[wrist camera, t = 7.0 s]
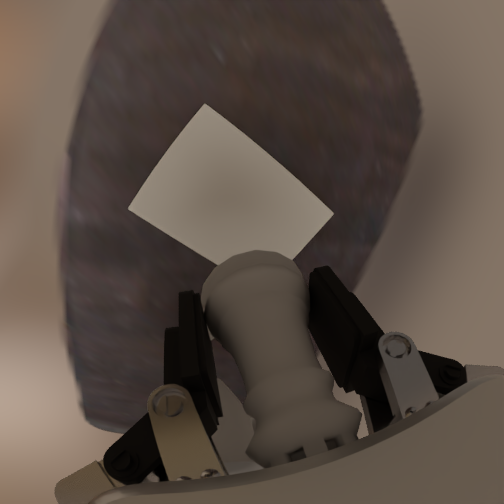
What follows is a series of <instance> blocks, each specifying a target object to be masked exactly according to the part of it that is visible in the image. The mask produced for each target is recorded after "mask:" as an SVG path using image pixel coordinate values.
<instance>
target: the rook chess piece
mask: <svg viewBox="0 0 504 504" xmlns="http://www.w3.org/2000/svg"><path fill="white" fill-rule="evenodd" d="M201 303H202V307H203V311H204V317H205V321H206V324H207V326H208V329H209V331H210V333H211V335H212V336H213V337H214V338H215V339H216V340H217V341H219V342H220V343H221V344H222V347H223V348H225V349H226V350H227V351H228V352H229V353H231V354H232V356H233V357H234V359H235V362H236V364H237V366H238V369H239V371H240V373H241V376H242V378H243V381H244V384H245V388H246V392H247V396H246V399H245V401H244V404H243V408H244V410H245V412H246V414H247V415H249V416H251V417H252V418H254V419H255V421H256V432H255V434H254V436H253V437H252V439H251V441H250V443H249V445H248V447H247V449H246V451H245V453H246V454H247V456H248V457H249V458H250V459H251V460H252V461H254V462H255V463H257V464H258V465H260V466H261V467H263V468H264V469H265V468H269V467H274V466H278V465H282V464H286V463H290V462H294V461H297V460H301V459H304V458H308V457H311V456H314V455H317V454H320V453H323V452H326V451H329V450H332V449H335V448H338V447H341V446H343V445H346V444H349V443H351V442H354V441H356V440H359V439H358V437H357V432H358V429H359V425H360V421H361V417H362V413H361V412H360V411H359V410H358V409H357V408H354V407H352V406H349V405H347V404H345V403H342V402H339V401H337V400H336V399H335V397H334V396H333V392H332V389H333V386H334V377H333V376H332V375H331V373H330V372H329V371H326V370H323V369H322V368H321V366H320V364H319V361H318V359H317V357H316V355H315V351H314V348H313V345H312V341H311V338H310V335H309V332H308V328H307V327H308V325H309V312H310V293H309V288H308V286H307V284H306V283H305V281H304V280H303V275H302V273H301V272H300V270H299V269H298V267H297V266H296V264H295V263H294V261H292V260H291V259H289V258H287V257H285V256H283V255H282V254H280V253H278V252H273V251H263V250H253V251H249V252H245V253H241V254H237V255H233V256H232V257H230V258H229V259H227V260H226V261H224V262H223V263H221V264H220V265H218V266H217V267H215V268H214V269H213V271H212V272H211V274H210V275H209V277H208V278H207V279H206V281H205V282H204V284H203V288H202V294H201Z"/></svg>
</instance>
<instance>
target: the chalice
mask: <svg viewBox="0 0 504 504" xmlns="http://www.w3.org/2000/svg"><path fill="white" fill-rule="evenodd" d="M207 328H208V326H207ZM208 332H209V336H210V340H213V339H214V337H213V336H212V335H211V333H210V331H209V329H208ZM212 350H213V349H212ZM217 382H218V388H219V394H220V400H221V406H222V412H223V417H219V418H218V420H219V425H217V429H218V430H217V431H216V432H215V433H214V434H213V435H212V436H211V437H212V439H213V441H214V443H215V446H216V448H217V450H218V452H219V454H220V456H221V458H222V460H223V463H224V465H225V467H226V469H227V471H228V473H229V475H232V474H239V473H245V472H250V471H255V470H260V469H264V468H263V467H261V466H260V465H258V464H257V463H255V462H254V461H252V460H251V459H250V458H249V457H248V456H247V454H246V453H245V451H246V449H247V447H248V445H249V443H250V441H251V439H252V437H253V436H254V430H253V426H252V423H251V419H250V416H249V415H247V414H246V412H245V410H244V408H243V405H242V404H241V402H240V401H239V399H238V398H237V397H236V396H235V395H234V394H233V393H232V391H231V390H230V389H229V388H228V387H227V386H226V385H225V384H224V382H223V381H222V380H220V379H219V378H217Z"/></svg>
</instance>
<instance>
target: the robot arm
mask: <svg viewBox="0 0 504 504" xmlns="http://www.w3.org/2000/svg"><path fill="white" fill-rule="evenodd" d="M309 293H310V312H309V325H308V328H309V330H310V332H311V334H312V336H313V338H314V340H315V342H316V344H317V346H318V348H319V350H320V352H321V354H322V355H323V357H324V359H325V361H326V363H327V365H328V367H329V369H330V371H331V373H332V375H333V377H334V379H335V381H336V383H337V385H338V386H339V387H340V388H341V387H343V388H344V390H345V392H346V393H348V392H351V391H354V390H355V392H356V394H359V395H360V399H361V403H362V407H363V411H364V415H365V420H366V424H367V428H368V433H369V435H368V436H366V437H363V438H361V439H359V440H356V441H354V442H351V443H349V444H346V445H343V446H341V447H338V448H335V449H332V450H329V451H326V452H323V453H320V454H317V455H314V456H311V457H308V458H304V459H301V460H297V461H294V462H290V463H286V464H282V465H278V466H274V467H269V468H265V469H260V470H255V471H250V472H245V473H239V474H232V475H229V473H228V471H227V469H226V467H225V465H224V463H223V460H222V458H221V456H220V454H219V452H218V450H217V448H216V446H215V443H214V441H213V439H212V437H211V436H212V435H213V434H214V433H215V432H216V431H217V430H218V429H217V425H219V420H218V418H219V417H223V412H222V406H221V400H220V394H219V388H218V382H217V376H216V370H215V363H214V357H213V350H212V344H211V340H210V336H209V332H208V328H207V324H206V321H205V317H204V311H203V307H202V303H201V299H200V295H199V293H196V294H194V292H193V290H191V291H185V292H179V327H172V328H166V329H165V341H164V385H163V386H161V387H158V388H157V389H155V390H154V391H153V392H152V393H151V395H150V396H149V398H148V402H147V408H148V413H147V414H146V415H145V416H143V417H142V418H141V419H140V420H139V421H138V422H137V423H136V424H135V425H134V426H133V427H132V428H130V429H129V430H128V431H127V432H126V433H125V434H124V435H123V436H122V437H121V438H120V439H119V440H117V441H116V442H115V443H114V444H113V445H112V446H111V447H109V449H108V450H107V451H106V453H105V455H104V458H103V460H101V461H99V462H97V461H94V462H92V463H91V464H89V465H87V466H85V467H84V468H82V469H80V470H78V471H77V472H75V473H73V474H71V475H69V476H68V477H66V478H64V479H62V480H60V481H59V482H58V483H57V484H56V487H55V497H56V499H57V501H58V503H59V504H504V369H503V368H501V367H498V366H480V365H465V366H464V367H463V366H462V365H461V364H460V363H459V362H458V361H455V360H453V359H449V358H445V357H441V356H437V355H434V354H430V353H426V352H422V351H418V350H417V348H416V346H415V344H414V342H413V341H412V339H411V338H410V337H408V336H407V335H405V334H403V333H400V332H389V333H386V334H384V332H383V331H382V330H381V328H380V327H379V326H378V325H377V323H376V322H375V320H374V319H373V318H372V316H371V315H370V314H369V313H368V311H367V310H366V309H365V307H364V306H363V305H362V303H361V302H360V301H359V300H358V298H357V297H356V296H355V295H354V294H353V293H351V292H349V291H348V290H347V288H346V287H345V286H344V285H343V283H342V282H341V281H340V280H339V278H338V277H337V276H336V275H335V273H334V272H333V271H332V270H331V268H330V267H329V266H323V267H318V268H315V269H314V271H313V272H311V273H310V279H309ZM250 419H251V423H252V426H253V430H254V434H255V432H256V421H255V419H254V418H252V417H251V416H250Z"/></svg>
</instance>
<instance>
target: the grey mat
mask: <svg viewBox="0 0 504 504" xmlns="http://www.w3.org/2000/svg"><path fill="white" fill-rule="evenodd" d="M128 209H129V210H130V211H132V212H133V213H135V214H136V215H138V216H140V217H141V218H143V219H144V220H146V221H147V222H149V223H151V224H152V225H154V226H155V227H157V228H158V229H160V230H162V231H163V232H165V233H166V234H168V235H170V236H171V237H173V238H174V239H176V240H178V241H179V242H181V243H182V244H184V245H186V246H187V247H189V248H190V249H192V250H194V251H195V252H197V253H199V254H200V255H202V256H204V257H205V258H207V259H208V260H210V261H212V262H213V263H215V264H217V265H220V264H221V263H223V262H224V261H226V260H227V259H229V258H230V257H232V256H233V255H237V254H241V253H245V252H249V251H253V250H263V251H273V252H278V253H280V254H282V255H283V256H285V257H287V258H289V259H291V260H293V259H294V258H295V256H296V255H297V254H298V253H299V252H300V251H301V250H302V249H303V248H304V247H305V246H306V244H307V243H308V242H309V241H310V240H311V239H312V238H313V237H314V236H315V235H316V233H317V232H318V231H319V230H320V229H321V228H322V227H323V226H324V225H325V223H326V222H327V221H328V220H329V219H330V218H331V217H332V216H333V214H334V213H333V212H332V211H331V210H330V209H329V208H328V207H327V206H326V205H325V204H324V203H322V202H321V201H320V200H319V199H318V198H317V197H316V196H315V195H314V194H313V193H312V192H311V191H310V190H309V189H308V188H306V187H305V186H304V185H303V184H302V183H301V182H300V181H299V180H298V179H297V178H295V177H294V176H293V175H292V174H291V173H290V172H289V171H288V170H286V169H285V168H284V167H283V166H282V165H281V164H280V163H278V162H277V161H276V160H275V159H274V158H273V157H271V156H270V155H269V154H268V153H267V152H266V151H264V150H263V149H262V148H261V147H260V146H258V145H257V144H256V143H255V142H254V141H252V140H251V139H250V138H249V137H247V136H246V135H245V134H244V133H243V132H241V131H240V130H239V129H238V128H236V127H235V126H234V125H232V124H231V123H230V122H229V121H227V120H226V119H225V118H223V117H222V116H221V115H220V114H218V113H217V112H216V111H214V110H213V109H212V108H210V107H209V106H208V105H206V104H204V105H203V106H202V107H201V108H200V109H199V111H198V112H197V113H196V114H195V116H194V117H193V118H192V119H191V120H190V122H189V123H188V124H187V125H186V127H185V128H184V129H183V130H182V132H181V133H180V134H179V136H178V137H177V138H176V139H175V141H174V142H173V143H172V145H171V146H170V147H169V149H168V150H167V151H166V153H165V154H164V156H163V157H162V158H161V160H160V161H159V162H158V164H157V165H156V167H155V168H154V170H153V171H152V172H151V174H150V175H149V177H148V178H147V180H146V181H145V183H144V184H143V186H142V187H141V189H140V190H139V192H138V193H137V195H136V196H135V198H134V200H133V201H132V203H131V204H130V206H129V208H128Z"/></svg>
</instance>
